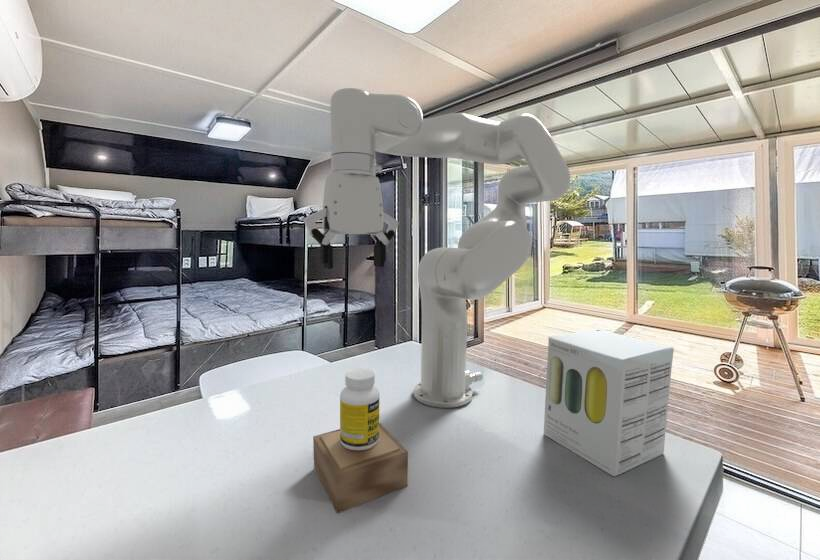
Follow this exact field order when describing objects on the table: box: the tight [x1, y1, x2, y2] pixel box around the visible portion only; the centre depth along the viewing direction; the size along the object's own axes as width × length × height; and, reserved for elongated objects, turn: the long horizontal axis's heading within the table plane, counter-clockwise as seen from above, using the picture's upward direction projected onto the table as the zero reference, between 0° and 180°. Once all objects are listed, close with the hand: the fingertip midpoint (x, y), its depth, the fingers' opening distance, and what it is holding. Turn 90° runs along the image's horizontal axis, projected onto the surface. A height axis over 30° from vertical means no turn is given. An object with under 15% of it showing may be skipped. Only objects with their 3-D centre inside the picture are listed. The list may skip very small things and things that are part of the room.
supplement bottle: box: [339, 368, 380, 451], centre depth 50 cm, size 5×5×10 cm
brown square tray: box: [312, 422, 409, 514], centre depth 51 cm, size 10×10×5 cm
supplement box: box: [543, 328, 675, 477], centre depth 59 cm, size 13×13×18 cm
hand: (354, 267), depth 65 cm, fingers open, 9 cm apart
